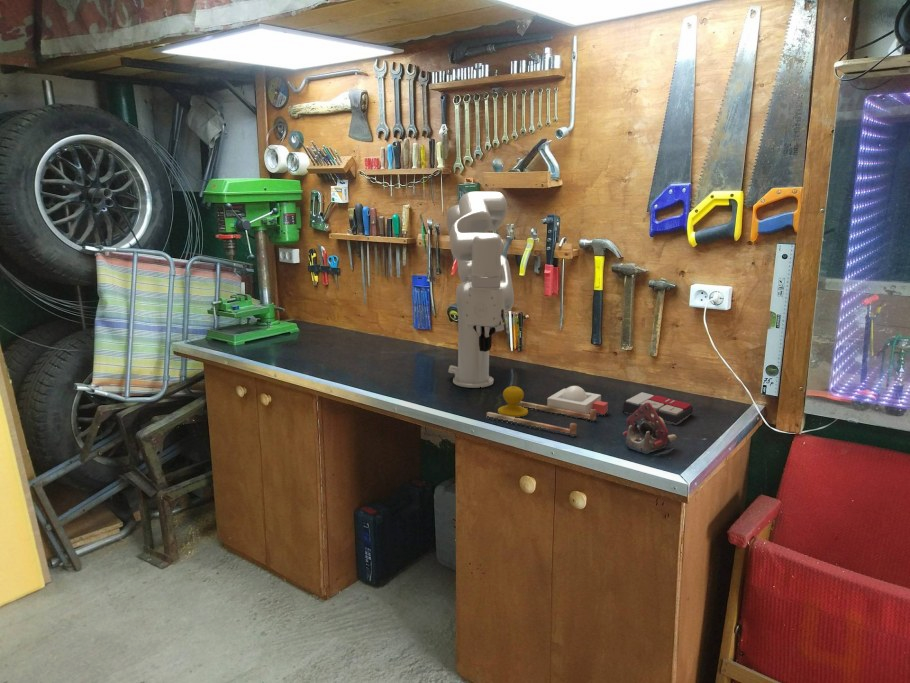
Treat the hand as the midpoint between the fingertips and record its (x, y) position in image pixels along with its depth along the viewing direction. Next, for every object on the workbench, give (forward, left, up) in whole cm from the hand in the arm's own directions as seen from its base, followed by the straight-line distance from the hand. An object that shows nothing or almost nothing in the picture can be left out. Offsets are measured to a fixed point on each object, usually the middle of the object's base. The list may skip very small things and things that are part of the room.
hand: (485, 350), depth 180 cm
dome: (+21, +13, -16) cm, 29 cm away
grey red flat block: (+41, +22, -17) cm, 49 cm away
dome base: (+23, +13, -16) cm, 31 cm away
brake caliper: (+46, -3, -17) cm, 49 cm away
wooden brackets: (+17, 0, -16) cm, 23 cm away
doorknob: (+9, 0, -17) cm, 19 cm away
